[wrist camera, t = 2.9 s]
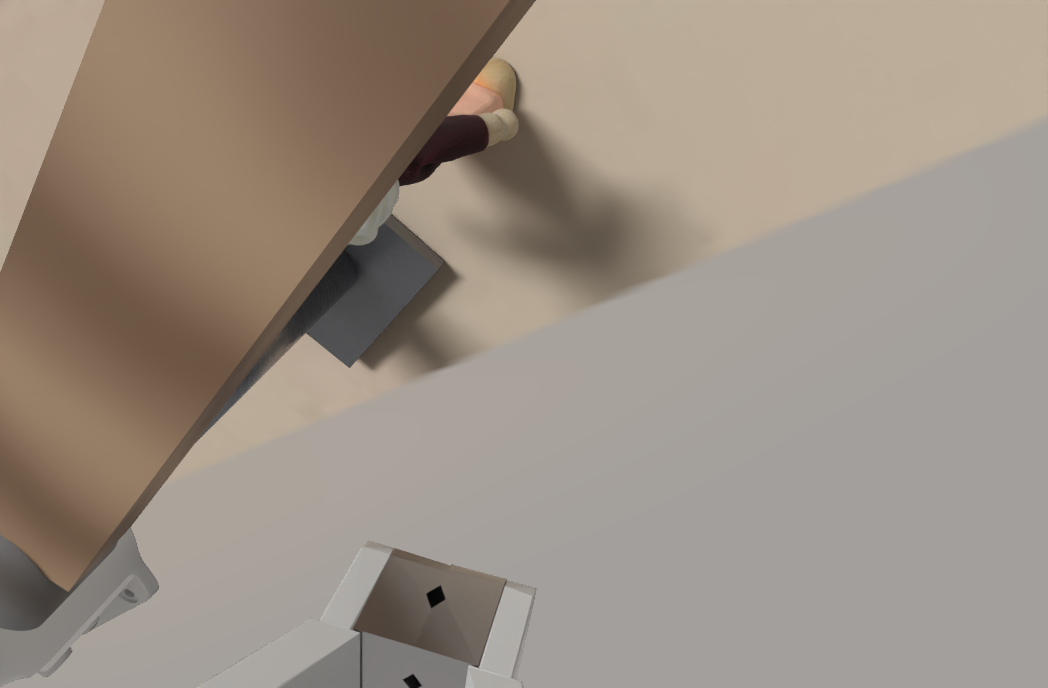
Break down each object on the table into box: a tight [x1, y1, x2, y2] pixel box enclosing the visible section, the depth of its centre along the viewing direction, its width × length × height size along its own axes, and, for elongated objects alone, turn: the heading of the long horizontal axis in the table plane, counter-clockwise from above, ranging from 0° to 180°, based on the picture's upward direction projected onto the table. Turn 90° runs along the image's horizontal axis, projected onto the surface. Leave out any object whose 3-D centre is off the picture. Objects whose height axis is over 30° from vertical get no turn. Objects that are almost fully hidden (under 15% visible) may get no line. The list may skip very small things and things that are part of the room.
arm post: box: [195, 215, 445, 443], centre depth 26 cm, size 8×8×17 cm
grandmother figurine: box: [348, 58, 519, 245], centre depth 23 cm, size 8×4×13 cm, turn 115°
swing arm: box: [0, 0, 536, 631], centre depth 13 cm, size 20×4×2 cm, turn 139°
